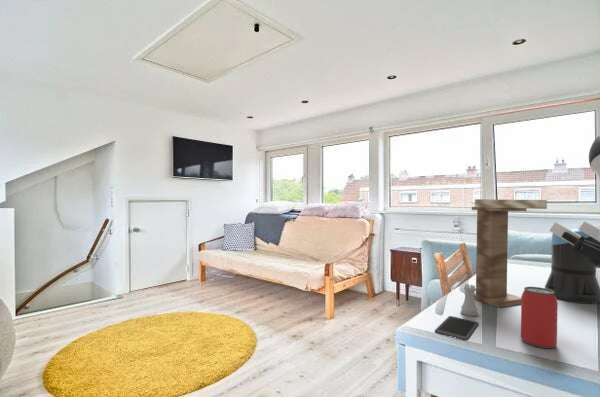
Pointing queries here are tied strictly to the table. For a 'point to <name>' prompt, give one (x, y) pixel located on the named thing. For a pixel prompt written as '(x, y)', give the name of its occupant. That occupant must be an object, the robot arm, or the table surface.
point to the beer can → (539, 317)
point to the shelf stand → (493, 256)
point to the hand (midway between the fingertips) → (567, 225)
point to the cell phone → (457, 327)
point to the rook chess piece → (469, 301)
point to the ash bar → (512, 203)
